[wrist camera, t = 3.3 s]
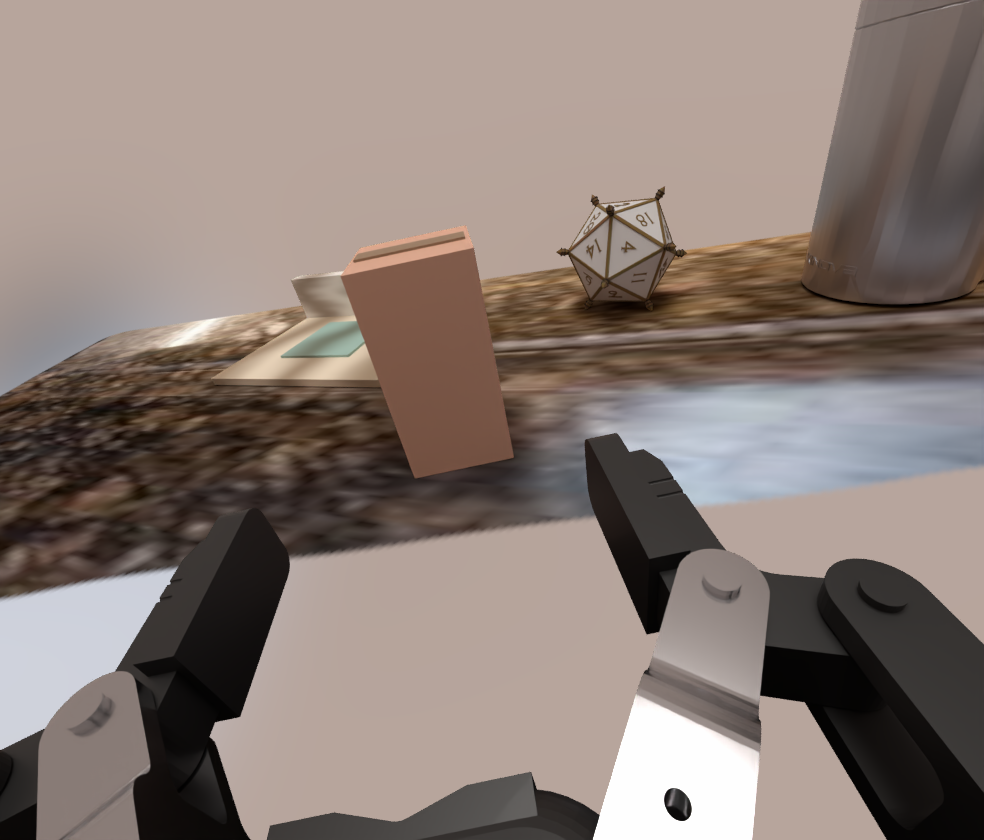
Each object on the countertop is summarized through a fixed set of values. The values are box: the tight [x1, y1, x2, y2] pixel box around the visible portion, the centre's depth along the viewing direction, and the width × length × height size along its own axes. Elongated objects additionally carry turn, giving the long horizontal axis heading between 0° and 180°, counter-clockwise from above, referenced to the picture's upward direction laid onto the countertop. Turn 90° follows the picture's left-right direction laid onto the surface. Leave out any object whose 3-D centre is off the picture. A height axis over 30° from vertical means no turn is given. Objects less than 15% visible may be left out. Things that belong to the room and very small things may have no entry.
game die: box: [557, 187, 687, 311], centre depth 33 cm, size 9×8×10 cm
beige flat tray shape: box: [211, 271, 381, 387], centre depth 37 cm, size 18×14×5 cm
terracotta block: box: [341, 226, 514, 478], centre depth 21 cm, size 5×5×10 cm
